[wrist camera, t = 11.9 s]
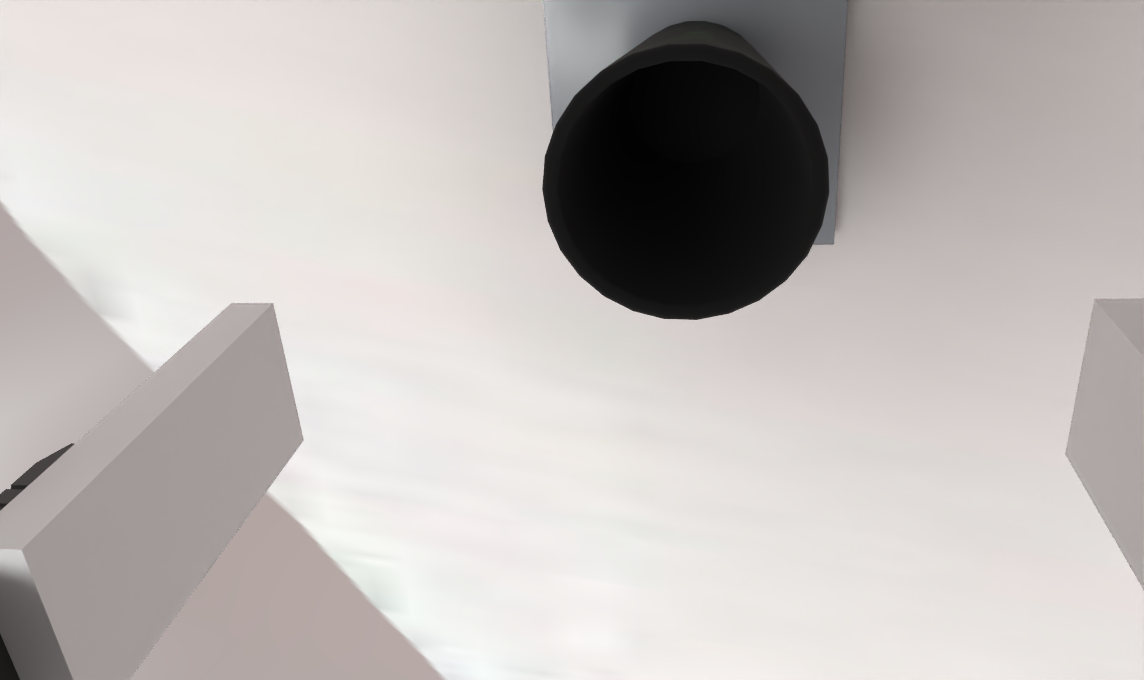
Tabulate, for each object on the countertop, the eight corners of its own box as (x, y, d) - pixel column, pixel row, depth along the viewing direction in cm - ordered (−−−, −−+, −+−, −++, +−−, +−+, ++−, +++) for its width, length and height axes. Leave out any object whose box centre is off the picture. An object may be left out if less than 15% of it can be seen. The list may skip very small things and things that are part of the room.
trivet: (545, -68, 36) (538, -65, 35) (847, -86, 34) (852, -85, 33) (567, 234, 41) (561, 247, 40) (829, 230, 40) (833, 244, 38)
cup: (682, 231, 39) (667, 369, 28) (553, 89, 37) (485, 179, 26) (839, 104, 36) (890, 205, 25) (707, -58, 34) (701, -23, 23)
